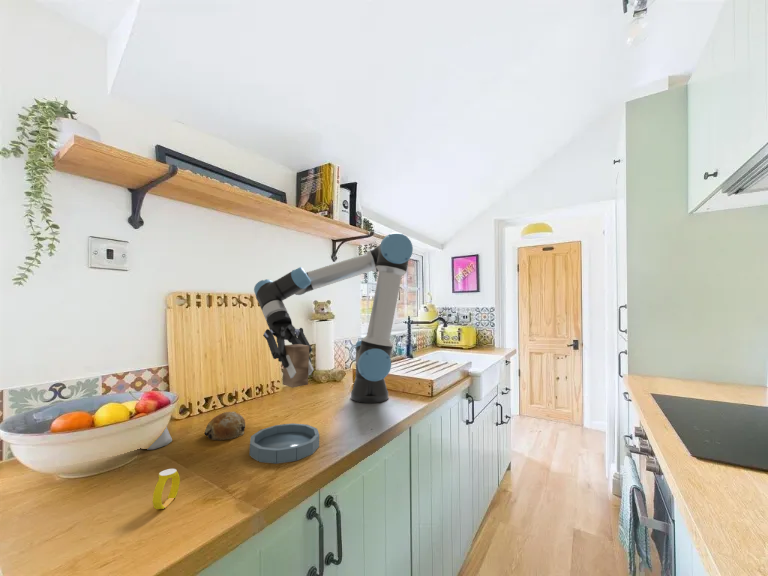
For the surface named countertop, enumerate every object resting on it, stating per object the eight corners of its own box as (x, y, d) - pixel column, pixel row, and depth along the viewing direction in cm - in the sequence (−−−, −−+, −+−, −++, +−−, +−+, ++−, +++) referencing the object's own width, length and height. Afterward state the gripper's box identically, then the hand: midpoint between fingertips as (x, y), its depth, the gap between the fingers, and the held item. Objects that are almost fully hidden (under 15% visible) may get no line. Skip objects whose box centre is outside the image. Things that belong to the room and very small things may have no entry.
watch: (167, 497, 62) (170, 464, 63) (182, 497, 62) (185, 464, 63) (146, 515, 56) (150, 478, 57) (163, 514, 56) (166, 478, 57)
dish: (294, 429, 96) (294, 419, 96) (331, 446, 85) (331, 434, 85) (237, 448, 83) (238, 436, 83) (272, 470, 72) (273, 456, 72)
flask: (153, 452, 81) (155, 411, 81) (130, 449, 82) (132, 409, 83) (177, 440, 88) (179, 403, 88) (155, 438, 89) (157, 401, 90)
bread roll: (233, 454, 88) (247, 426, 89) (196, 440, 86) (211, 412, 87) (240, 439, 97) (253, 414, 99) (208, 426, 96) (221, 401, 97)
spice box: (298, 381, 103) (299, 343, 104) (307, 384, 100) (309, 345, 100) (282, 384, 99) (284, 345, 100) (292, 387, 96) (293, 347, 96)
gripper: (296, 323, 118) (321, 376, 106) (246, 325, 104) (269, 386, 92) (305, 309, 114) (332, 362, 102) (254, 309, 101) (279, 370, 89)
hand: (302, 373), depth 97 cm, fingers closed on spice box, 5 cm apart
